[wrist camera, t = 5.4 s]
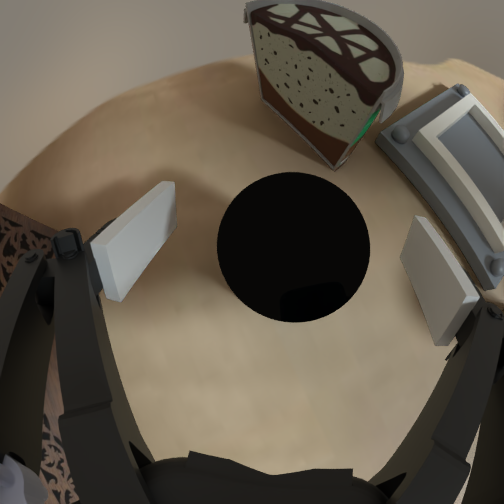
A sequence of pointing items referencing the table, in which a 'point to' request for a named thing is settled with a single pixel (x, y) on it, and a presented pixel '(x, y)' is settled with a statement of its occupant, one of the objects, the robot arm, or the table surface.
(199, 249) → the table surface
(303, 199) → the supplement container
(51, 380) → the tissue box cover
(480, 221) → the base plate
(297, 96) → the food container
